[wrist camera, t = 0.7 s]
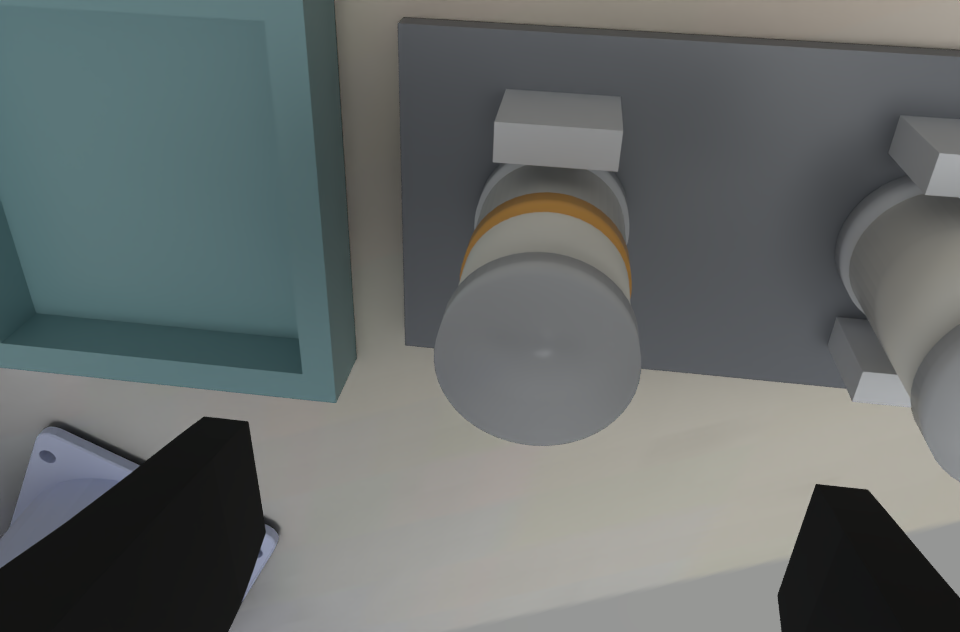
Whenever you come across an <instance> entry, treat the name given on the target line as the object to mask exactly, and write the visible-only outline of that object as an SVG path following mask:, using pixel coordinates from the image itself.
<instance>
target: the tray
mask: <svg viewBox="0 0 960 632" xmlns="http://www.w3.org/2000/svg"><path fill="white" fill-rule="evenodd" d="M356 359H357V357H356V341H355V325H354V309H353V294H352V278H351V262H350V246H349V231H348V215H347V199H346V184H345V168H344V152H343V136H342V121H341V105H340V89H339V73H338V58H337V42H336V26H335V10H334V0H0V368H9V369H18V370H28V371H37V372H47V373H56V374H66V375H75V376H85V377H94V378H103V379H113V380H122V381H132V382H141V383H151V384H160V385H170V386H179V387H188V388H198V389H207V390H217V391H226V392H236V393H245V394H255V395H264V396H274V397H283V398H292V399H302V400H311V401H321V402H330V403H336V402H337V400H338V398H339V396H340V394H341V391H342V389H343V387H344V385H345V383H346V380H347V378H348V376H349V374H350V372H351V369H352V367H353V365H354V363H355V361H356Z"/></svg>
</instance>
